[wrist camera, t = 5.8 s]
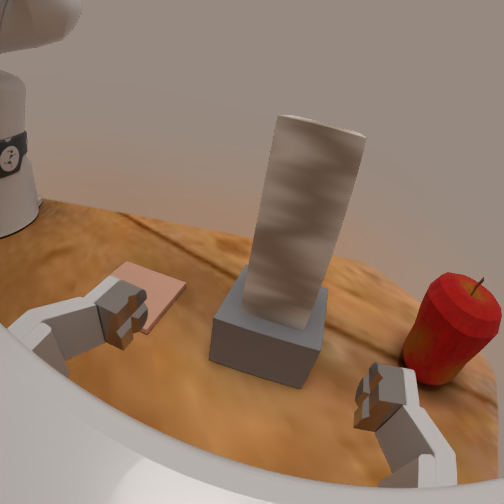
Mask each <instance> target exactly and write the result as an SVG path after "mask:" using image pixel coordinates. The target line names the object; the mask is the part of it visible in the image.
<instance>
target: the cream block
mask: <svg viewBox="0 0 504 504" xmlns="http://www.w3.org/2000/svg"><path fill="white" fill-rule="evenodd" d="M366 139H367V138H366V137H364V136H363V135H362V134H360V133H358V132H354V131H351V130H348V129H344V128H341V127H337V126H334V125H329V124H326V123H322V122H318V121H314V120H310V119H306V118H302V117H297V116H293V115H278V116H277V121H276V125H275V131H274V136H273V141H272V146H271V151H270V157H269V162H268V167H267V172H266V177H265V182H264V188H263V193H262V198H261V203H260V208H259V213H258V218H257V224H256V229H255V235H254V239H253V244H252V250H251V255H250V260H249V265H248V270H247V276H246V281H245V286H244V291H243V296H242V302H241V307H240V312H242V313H245V314H248V315H251V316H254V317H257V318H261V319H264V320H267V321H270V322H273V323H277V324H280V325H283V326H287V327H290V328H294V329H297V330H300V331H304V329H305V327H306V324H307V322H308V319H309V317H310V314H311V312H312V309H313V306H314V304H315V301H316V298H317V296H318V293H319V290H320V288H321V285H322V282H323V279H324V277H325V274H326V271H327V268H328V265H329V263H330V260H331V257H332V254H333V251H334V248H335V245H336V242H337V239H338V236H339V233H340V229H341V226H342V223H343V220H344V217H345V214H346V211H347V207H348V204H349V201H350V197H351V194H352V190H353V187H354V184H355V180H356V177H357V173H358V169H359V166H360V162H361V158H362V155H363V150H364V147H365V143H366Z"/></svg>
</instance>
